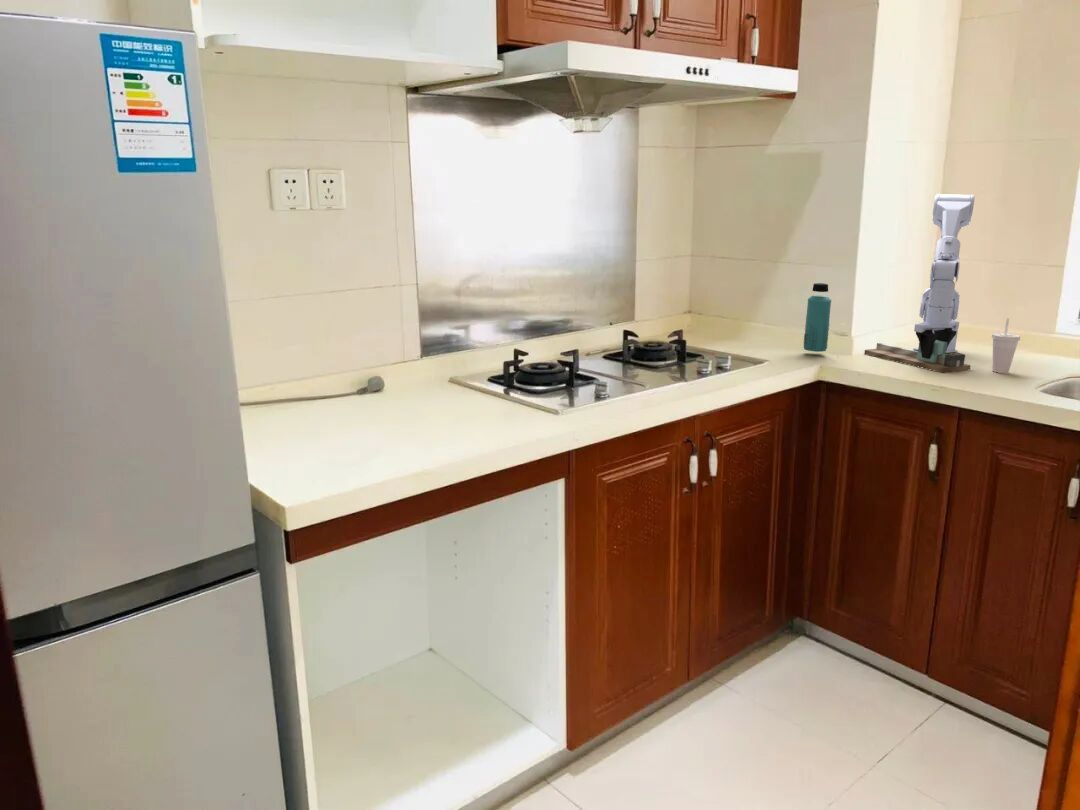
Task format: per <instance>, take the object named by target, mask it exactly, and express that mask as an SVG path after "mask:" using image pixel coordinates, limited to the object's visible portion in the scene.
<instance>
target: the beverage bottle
mask: <svg viewBox="0 0 1080 810" xmlns="http://www.w3.org/2000/svg"><path fill="white" fill-rule="evenodd" d="M812 292H817V293H829V284H828V283H822V282H820V283H819V282H817V283H813V286H812ZM831 305H832V299H831V298H830V297H829V296H828V295H824V294H813V295H811V296H809V297H808V299H807V306H806V315H805V316H806V317H805V326H804V327H805V328H804V334H803V335H804V336H803V349H804V350H805V351H808V352H817V353H818V352H820V353H821V352H826V351H827V349H828V341H829V330H830V326H831V324H830V318H831V317H830V315H831V307H832V306H831Z"/></svg>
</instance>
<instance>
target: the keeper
mask: <svg viewBox="0 0 1080 810" xmlns="http://www.w3.org/2000/svg"><path fill="white" fill-rule="evenodd" d="M917 347H918V350H917V351H918V355H917V359H919V360H923V361H927V362H932V363H935V362H936V361H937V356H942V357H945V355H946V354H947V353H946V348H947V342H945V341H940V340H936V341H935V343H934V346H933V350H932V355H931V357H930V359H927V358H923V357H922V353H921V347H920V342H919V341H918V346H917Z"/></svg>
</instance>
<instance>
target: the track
mask: <svg viewBox="0 0 1080 810" xmlns="http://www.w3.org/2000/svg"><path fill="white" fill-rule="evenodd" d="M863 354H864V355H867V356H870V357H875V358H879V357H880V359H883V358H884V359H883V360H887V359H889V360H888V361H891V360H894V361H893V362H896V361H898V362H897V363H900V362H902V363H901V364H904V363H906V364H905V365H908V364H910V366H912V365H914V367H917V366H919V367H918V368H921V367H923V368H922V369H925V368H927V369H926V370H929V369H931V370H930V371H933V370H935V371H934V372H937V371H939V372H938V373H942V372H943V374H945V372H948V373H953V372H952V371H955V372H962V371H961V370H963V371H969V370H968V369H970V370H971V366H972V365H971V364H967V363H965V359H966V354H965V353H960V352H957V353H956V352H953V353H946V355H945V357H942V356H937V361H936V362H935V363H932V362H927V361H923V360H919V359H917V355H918V350H914V349H909V348H905V347H904V348H903V347H900V346H896V345H892V344H891V345H890V344H886V343H883V342H882V343H881V342H877V343H876V348H870V349H865V350H864V352H863Z"/></svg>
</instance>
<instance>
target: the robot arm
mask: <svg viewBox="0 0 1080 810" xmlns="http://www.w3.org/2000/svg"><path fill="white" fill-rule="evenodd" d="M974 205H975V195H974V194H940V193H937V194H936V195H935V196H934V202H933V211H932V222H933V225H935V226H937V227H939V229H940V238H939V239H938V240H937V241H936V244H935V252H934V258H933V261H932V262H931V267H930V274H929V279H930V280H929V287H928V288H926V289H925V290H924V291H923V292H922V296H921V299H920V300H921V301H920V309H919V314H918V315H919V318H920V319H922V320H923V322H919V323H915V324H914V330H913V331H914V332H915V335H916V337H917V339H918V343H919V342H920V347H921V353H922V357H923V358H927V359H930V357H931V355H932V350H933V346H934V343H935V341H936V340H940V341H945V342H947V348H946V354H951V353H956V352H957V353H958V349H956V346H957V341H958V333H959V326H960V321H956V320H957V319H958V314H959V306H960V294H959V291H957V290H956V289H955V288H956V283H957V282H958V279H959V275H960V274H959V272H960V250H961V249H960V248H961V242H960V240H959V239H958V234H959V233H960V230H961V229H962V228H963V227H966V226H969V224H970V222H971V220H972V216H973V213H974V211H973V210H974ZM954 279H955V281H954ZM918 347H919V346H916V347H912V350H914V351H918Z"/></svg>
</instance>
